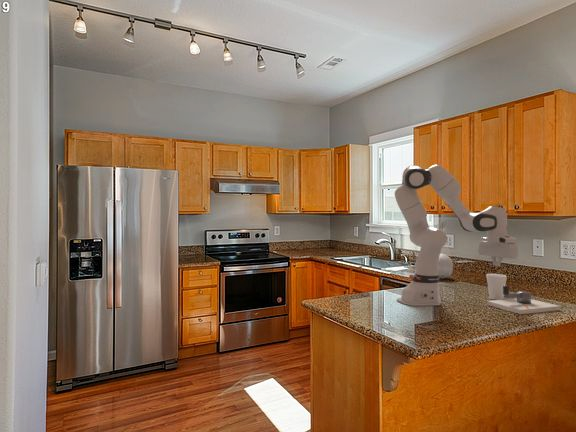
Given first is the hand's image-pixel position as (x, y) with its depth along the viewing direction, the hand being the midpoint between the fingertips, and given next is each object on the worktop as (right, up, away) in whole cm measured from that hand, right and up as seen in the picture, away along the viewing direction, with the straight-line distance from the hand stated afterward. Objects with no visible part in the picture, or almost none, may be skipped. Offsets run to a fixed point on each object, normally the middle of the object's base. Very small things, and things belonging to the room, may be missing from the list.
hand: (496, 265), depth 183 cm
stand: (+11, -20, -3) cm, 23 cm away
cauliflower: (+2, -20, +82) cm, 84 cm away
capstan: (+8, -18, -3) cm, 20 cm away
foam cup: (+8, -20, +15) cm, 27 cm away
